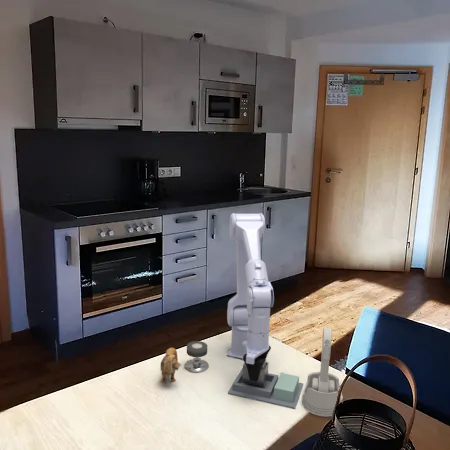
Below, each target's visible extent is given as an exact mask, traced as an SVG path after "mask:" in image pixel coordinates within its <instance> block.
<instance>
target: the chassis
mask: <svg viewBox="0 0 450 450" xmlns="http://www.w3.org/2000/svg"><path fill="white" fill-rule="evenodd" d="M242 374H243V367H242V368H241V369H240V371H239V372H238V374H237V376H236V378H235V379H234V381H233V382H232V384H231V386H230V388H229V390H228V391H227V394H228V395H231V396H235V397H238V398H239V397H240V398H243V399H244V398H245V399H249V400H254V401H258V402H262V403H267V404H271V405H275V406H278V407H285V408H287V409H288V408H289V409H292V410H295V409H296V408H297V404H298V402H299V398H300V395H301V392H302V391H303V388H304V383H303V382H299V381H300V376H299V375H294V374H288V373H284V372H281V373H280V374H274V373H269V372H268V379H267V381H266V383H265V385H264V387H261V386H256V385H252V384H247V383H242Z"/></svg>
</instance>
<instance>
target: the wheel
mask: <svg viewBox="0 0 450 450" xmlns="http://www.w3.org/2000/svg"><path fill="white" fill-rule="evenodd" d="M207 354H208V344H207V343H206V342H203V341H201V340H197V341H196V340H194V341H190V342H188V343H187V344H186V355H188V356H189V357H192V358H196V357H198V358H202V357H205V356H206V355H207Z"/></svg>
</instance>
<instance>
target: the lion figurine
mask: <svg viewBox="0 0 450 450" xmlns="http://www.w3.org/2000/svg"><path fill="white" fill-rule="evenodd" d="M178 360H179V359H178V352H177V349H176V348H174V347H169V348H168V349H166V351H165V355H164V356H163V358H162V359H161V361H160V371H161V378H162V379H161V381H160V382H161V383H162V384H165V383H166V381H167V378H166V376H167V375H168V376H169V375H170V382H171V383H174V382H176V378H175V372H176V371H178V370H179V369H180V367H181V363H179V362H178Z"/></svg>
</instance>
